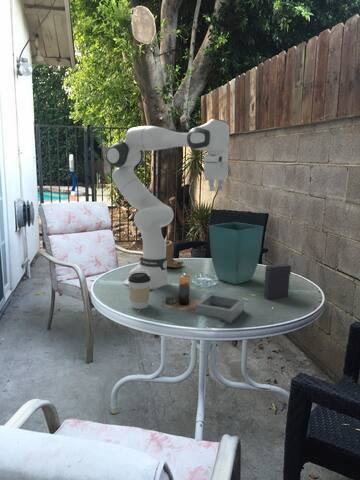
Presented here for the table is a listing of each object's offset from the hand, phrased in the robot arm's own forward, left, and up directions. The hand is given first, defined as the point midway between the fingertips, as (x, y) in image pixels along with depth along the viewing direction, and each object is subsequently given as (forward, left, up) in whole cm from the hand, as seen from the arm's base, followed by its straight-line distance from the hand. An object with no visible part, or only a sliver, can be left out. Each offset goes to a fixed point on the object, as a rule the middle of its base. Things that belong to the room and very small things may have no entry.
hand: (216, 190), depth 178 cm
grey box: (+26, +11, -48) cm, 55 cm away
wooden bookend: (-42, +34, -48) cm, 72 cm away
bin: (+11, -20, -48) cm, 53 cm away
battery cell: (-5, -20, -46) cm, 50 cm away
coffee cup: (-20, -31, -48) cm, 60 cm away
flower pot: (0, +28, -48) cm, 55 cm away
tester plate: (-5, -20, -48) cm, 52 cm away
